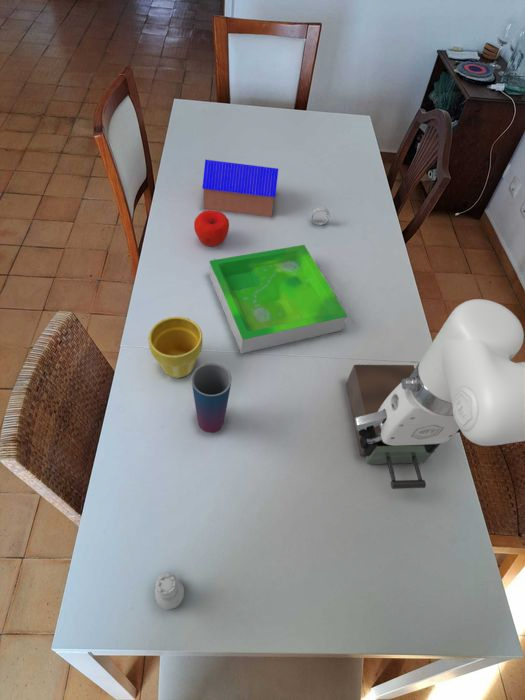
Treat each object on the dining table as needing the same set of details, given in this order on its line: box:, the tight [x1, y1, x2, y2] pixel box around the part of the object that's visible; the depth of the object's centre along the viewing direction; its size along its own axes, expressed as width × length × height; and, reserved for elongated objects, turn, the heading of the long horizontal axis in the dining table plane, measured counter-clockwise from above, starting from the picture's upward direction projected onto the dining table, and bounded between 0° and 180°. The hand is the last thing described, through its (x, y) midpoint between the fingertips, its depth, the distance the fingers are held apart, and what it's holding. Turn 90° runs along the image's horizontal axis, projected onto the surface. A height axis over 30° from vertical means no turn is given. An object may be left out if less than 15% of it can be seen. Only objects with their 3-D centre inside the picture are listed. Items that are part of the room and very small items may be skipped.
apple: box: [193, 209, 230, 247], centre depth 118 cm, size 9×9×8 cm
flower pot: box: [148, 316, 203, 379], centre depth 92 cm, size 10×10×10 cm
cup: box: [191, 362, 233, 434], centre depth 83 cm, size 7×7×15 cm
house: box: [201, 159, 279, 218], centre depth 128 cm, size 12×20×12 cm, turn 87°
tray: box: [209, 244, 348, 354], centre depth 108 cm, size 25×25×5 cm
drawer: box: [365, 441, 436, 490], centre depth 87 cm, size 21×11×5 cm, turn 4°
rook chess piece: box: [154, 572, 185, 611], centre depth 67 cm, size 4×4×8 cm
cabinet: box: [345, 364, 416, 457], centre depth 91 cm, size 17×13×7 cm
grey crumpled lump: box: [310, 207, 330, 226], centre depth 128 cm, size 3×5×5 cm, turn 90°
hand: (395, 445), depth 69 cm, fingers open, 9 cm apart
